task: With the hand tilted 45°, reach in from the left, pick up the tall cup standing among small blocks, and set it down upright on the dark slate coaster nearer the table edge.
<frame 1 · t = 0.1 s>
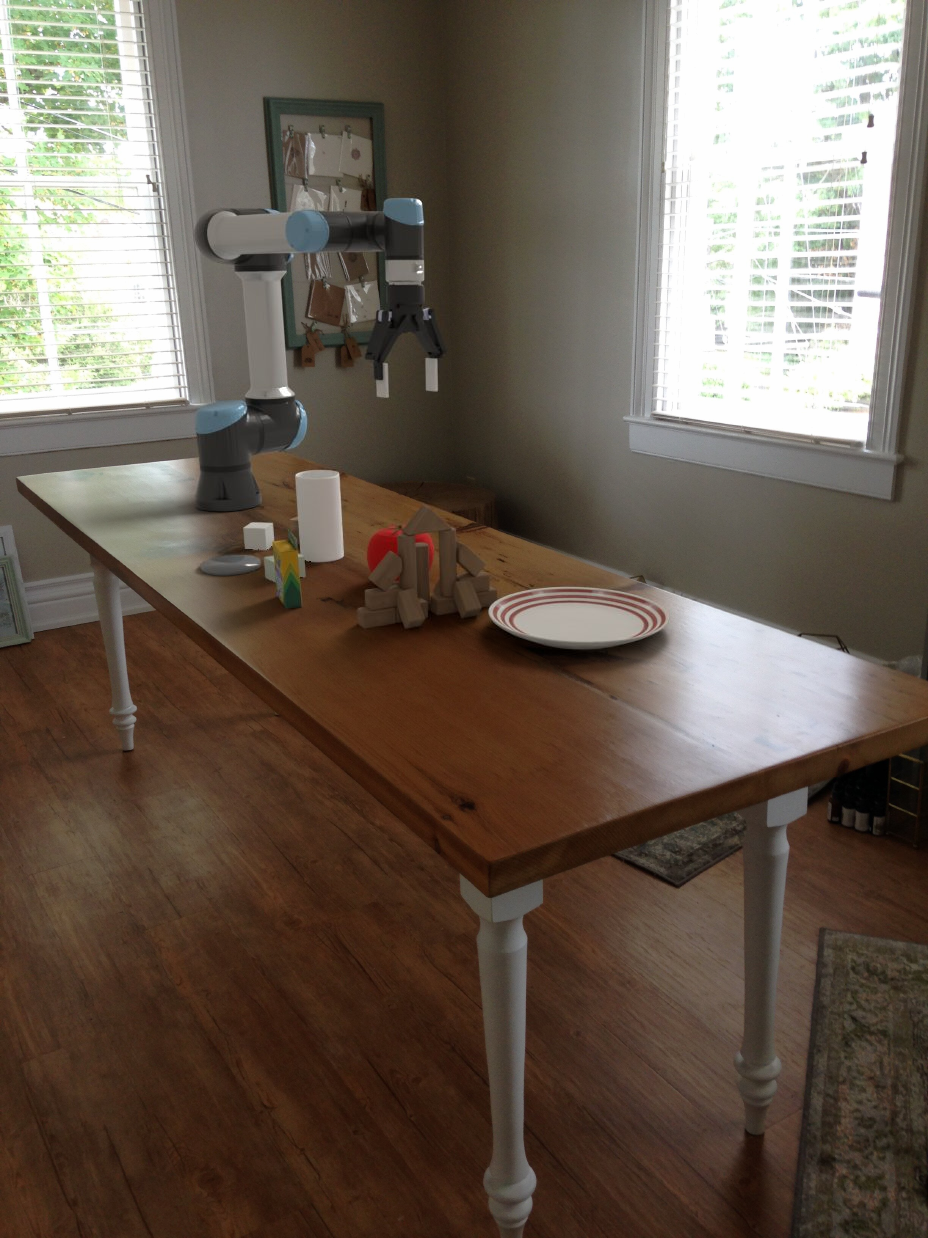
hand: (407, 393, 210), 28 cm above the table, tool pointing down, fingers open, 13 cm apart
crayon box: (289, 602, 174), on the table
tomato: (402, 583, 184), on the table
dinner plate: (577, 631, 160), on the table
coaster: (231, 566, 194), on the table
walnut block: (308, 541, 211), on the table
cup: (322, 557, 200), on the table
off-white plastic block: (259, 547, 208), on the table
sage painted block: (285, 578, 188), on the table
wooden blocks: (433, 615, 168), on the table
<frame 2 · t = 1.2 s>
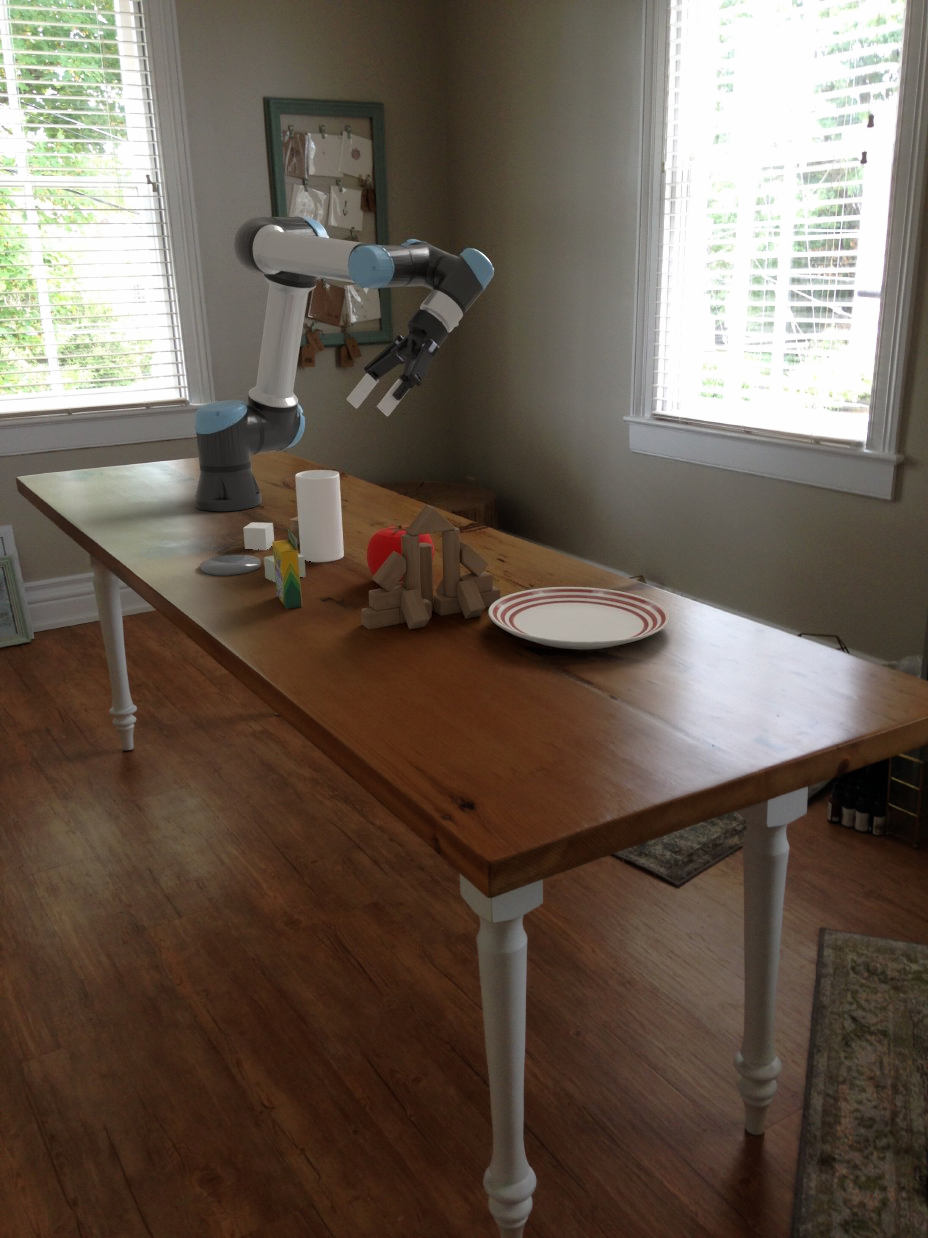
hand: (366, 407, 196), 27 cm above the table, tool tilted 45°, fingers open, 13 cm apart
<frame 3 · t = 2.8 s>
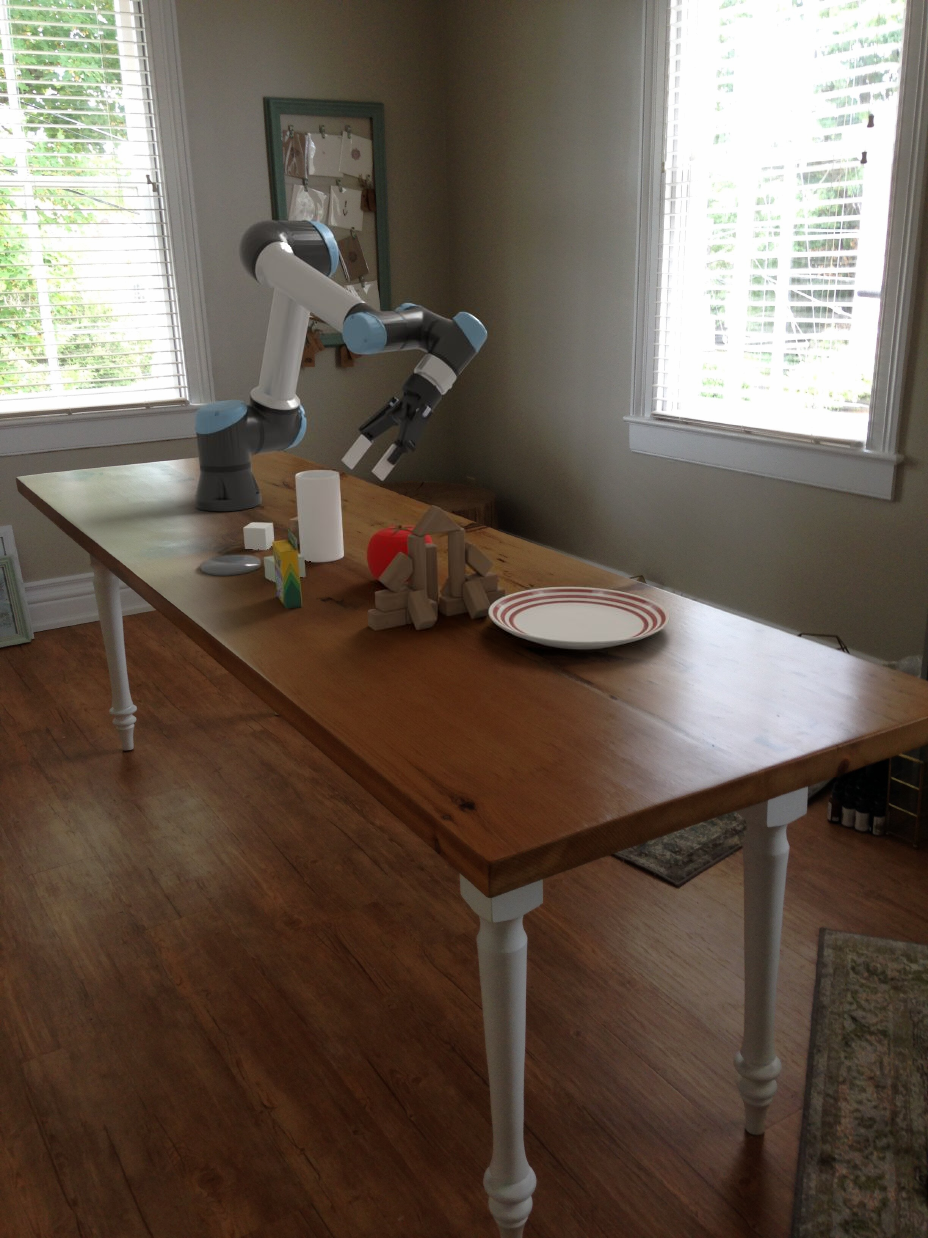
hand: (361, 470, 199), 16 cm above the table, tool tilted 45°, fingers open, 13 cm apart
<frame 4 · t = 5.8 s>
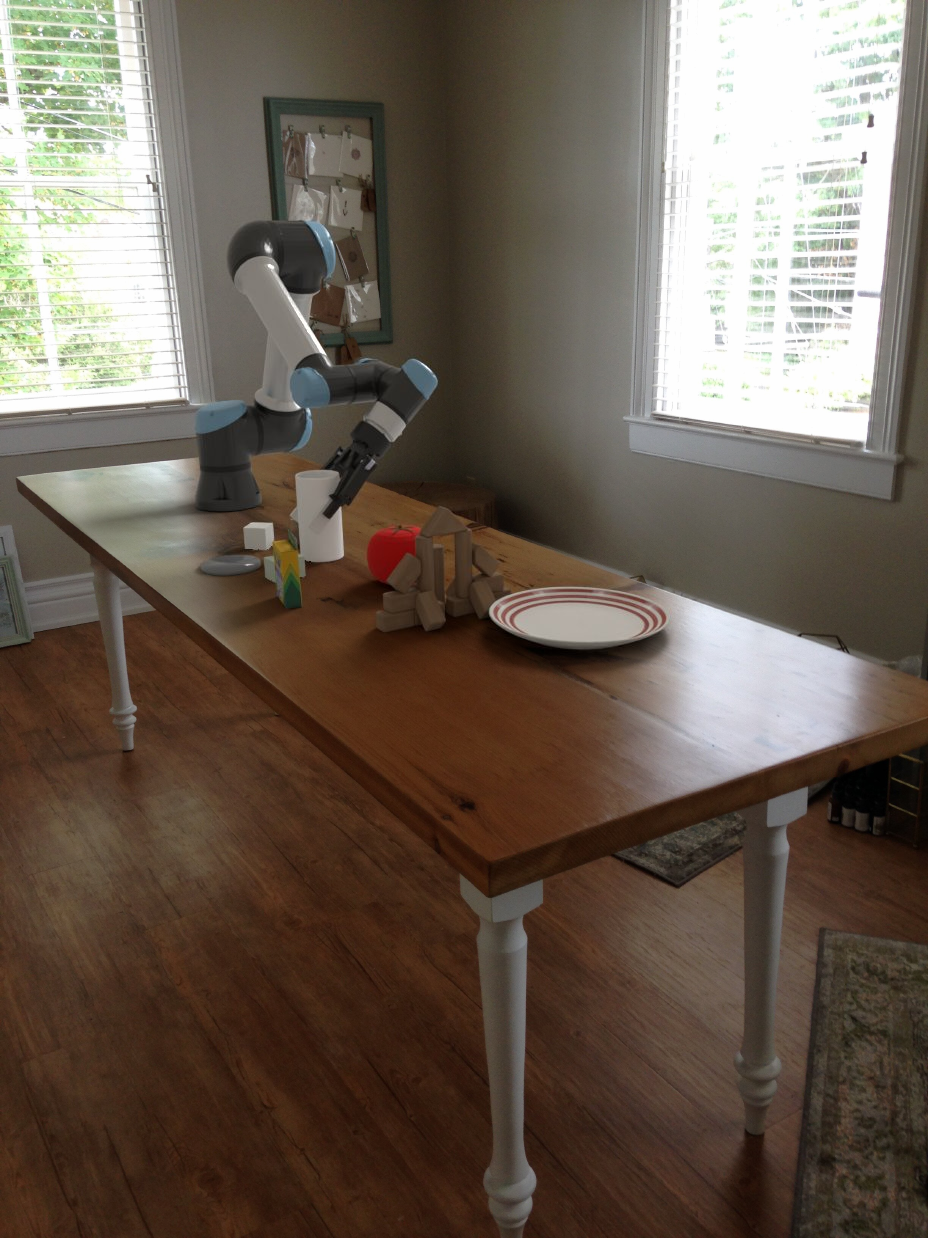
hand: (303, 524, 196), 7 cm above the table, tool tilted 45°, fingers closed on cup, 8 cm apart
cup: (322, 557, 200), on the table, touching gripper
wooden blocks: (449, 617, 167), on the table
everything else where it was.
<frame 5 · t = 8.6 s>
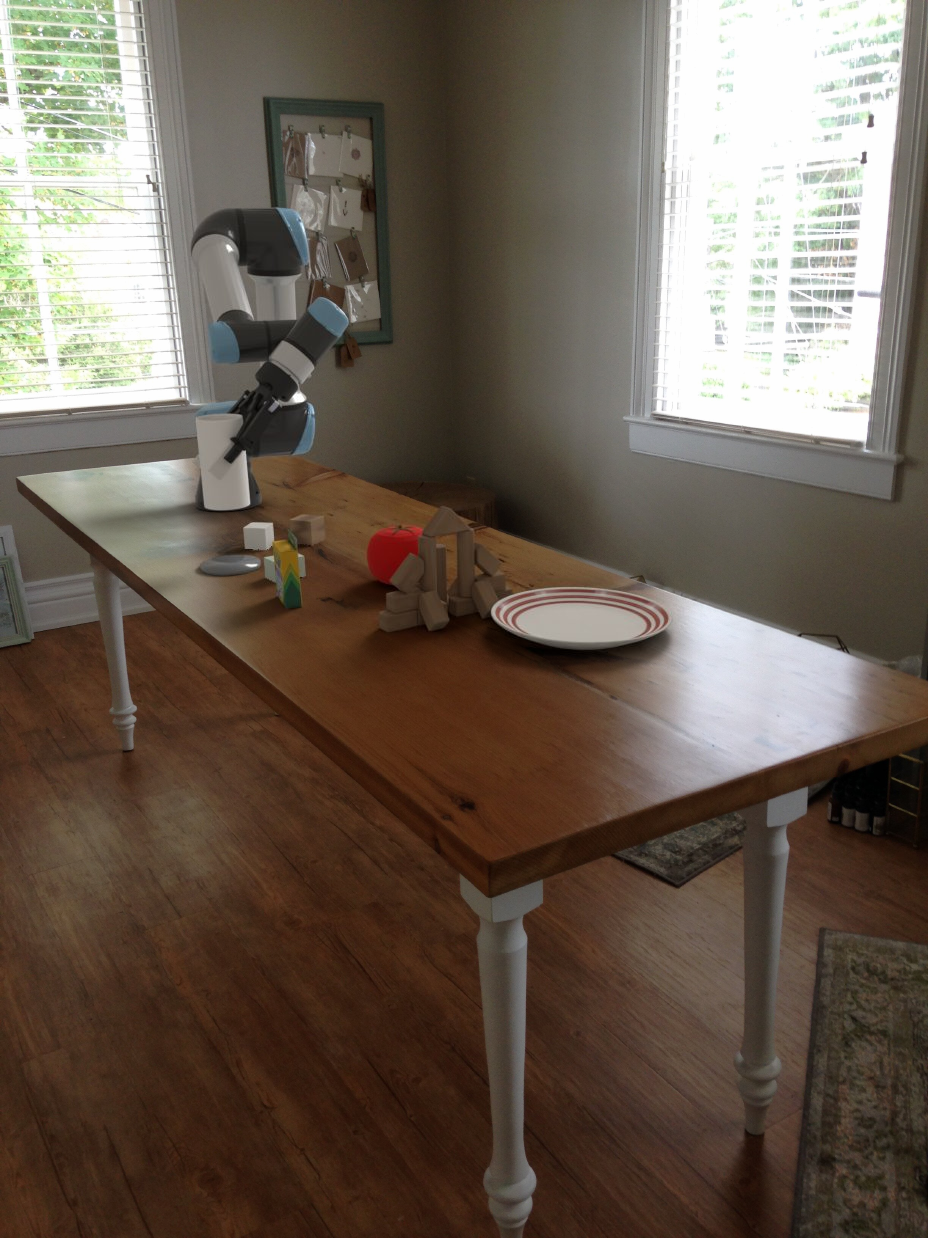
hand: (205, 470, 187), 18 cm above the table, tool tilted 45°, fingers closed on cup, 8 cm apart
cup: (227, 506, 191), point 12 cm above the table, touching gripper
when the fingers open (8 cm above the table, at t = 11.0 s): cup stays where it is, resting on coaster.
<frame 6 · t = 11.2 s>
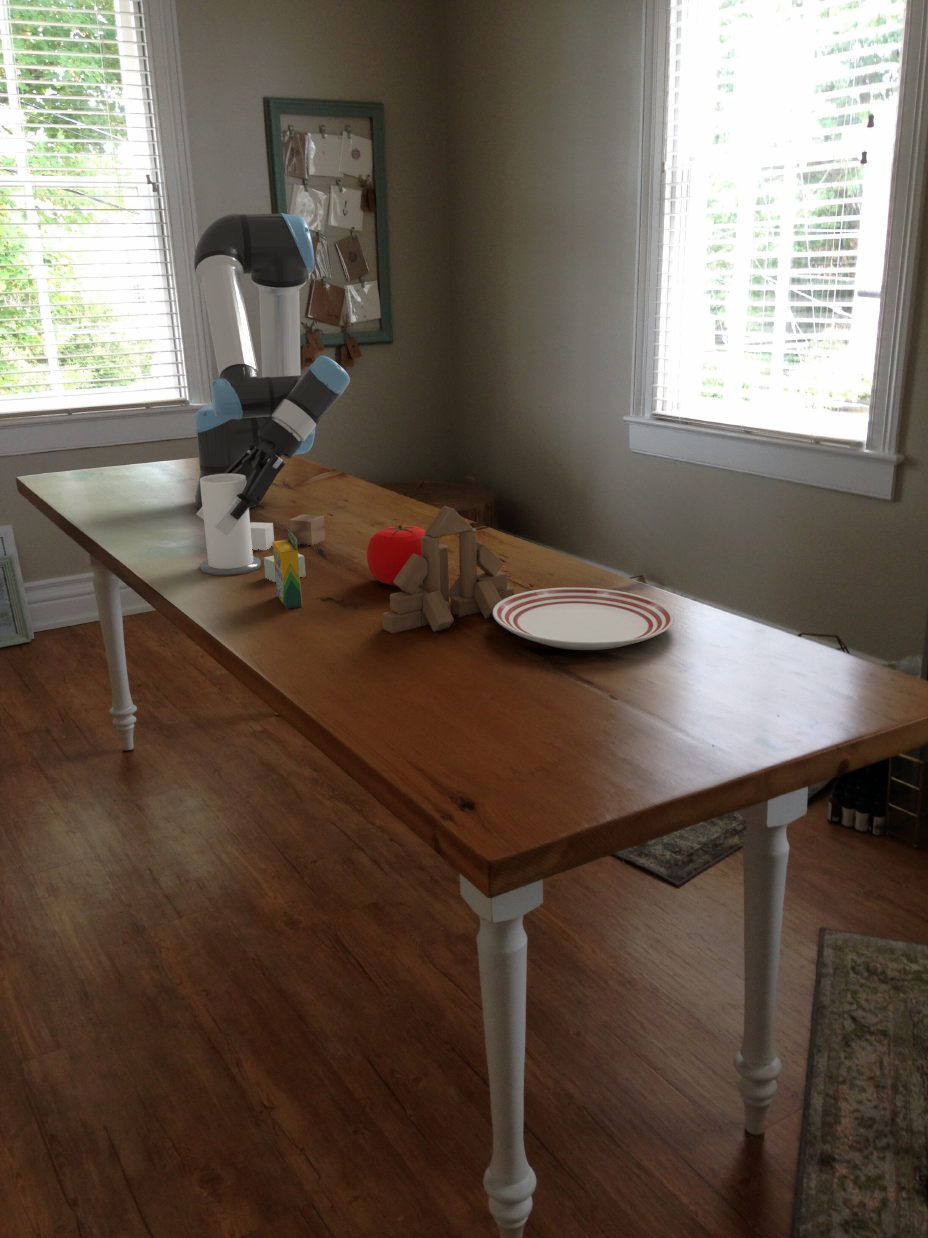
hand: (211, 524, 190), 9 cm above the table, tool tilted 45°, fingers open, 10 cm apart
cup: (231, 563, 194), point 1 cm above the table, touching coaster
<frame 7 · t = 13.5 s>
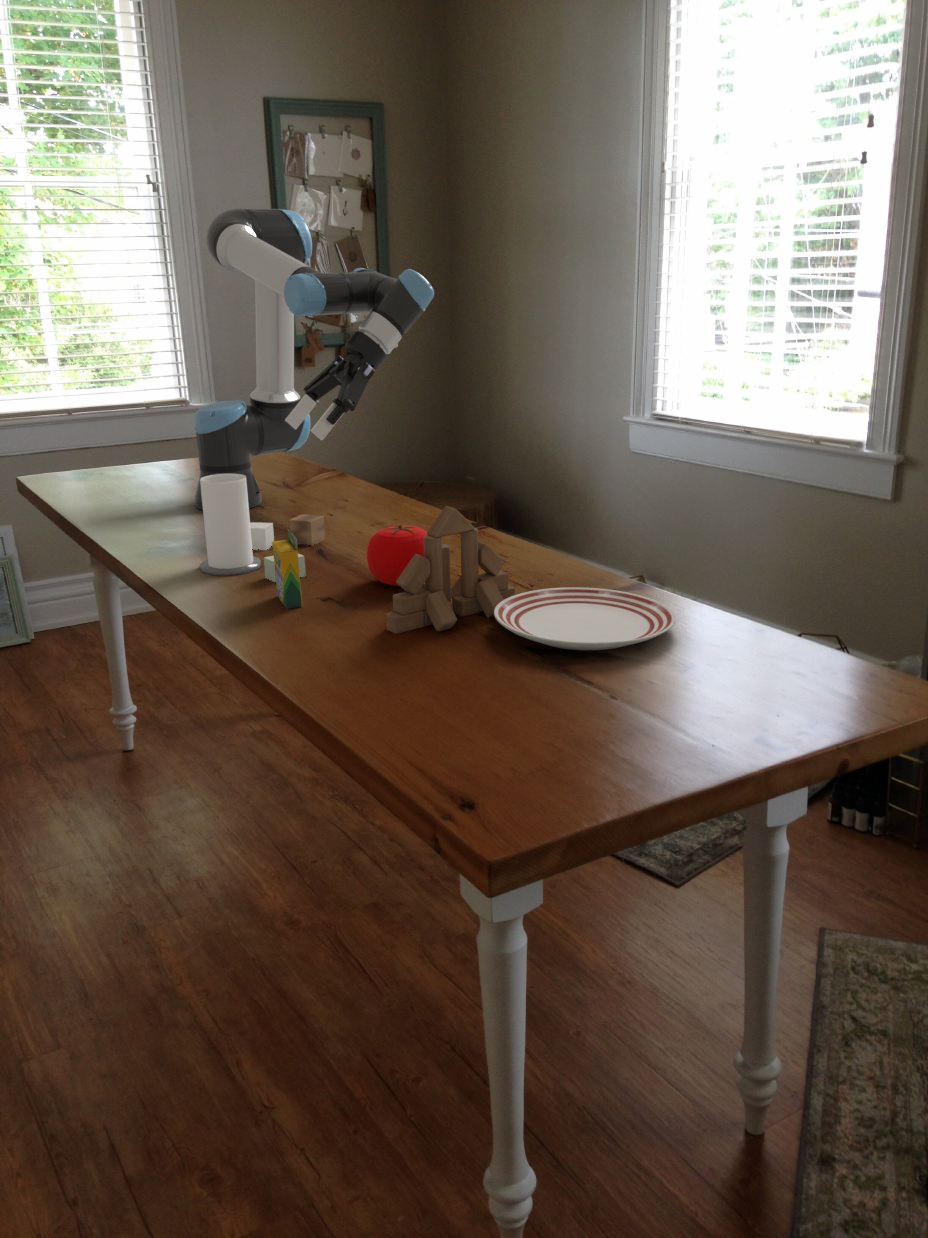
hand: (302, 430, 195), 24 cm above the table, tool tilted 45°, fingers open, 13 cm apart
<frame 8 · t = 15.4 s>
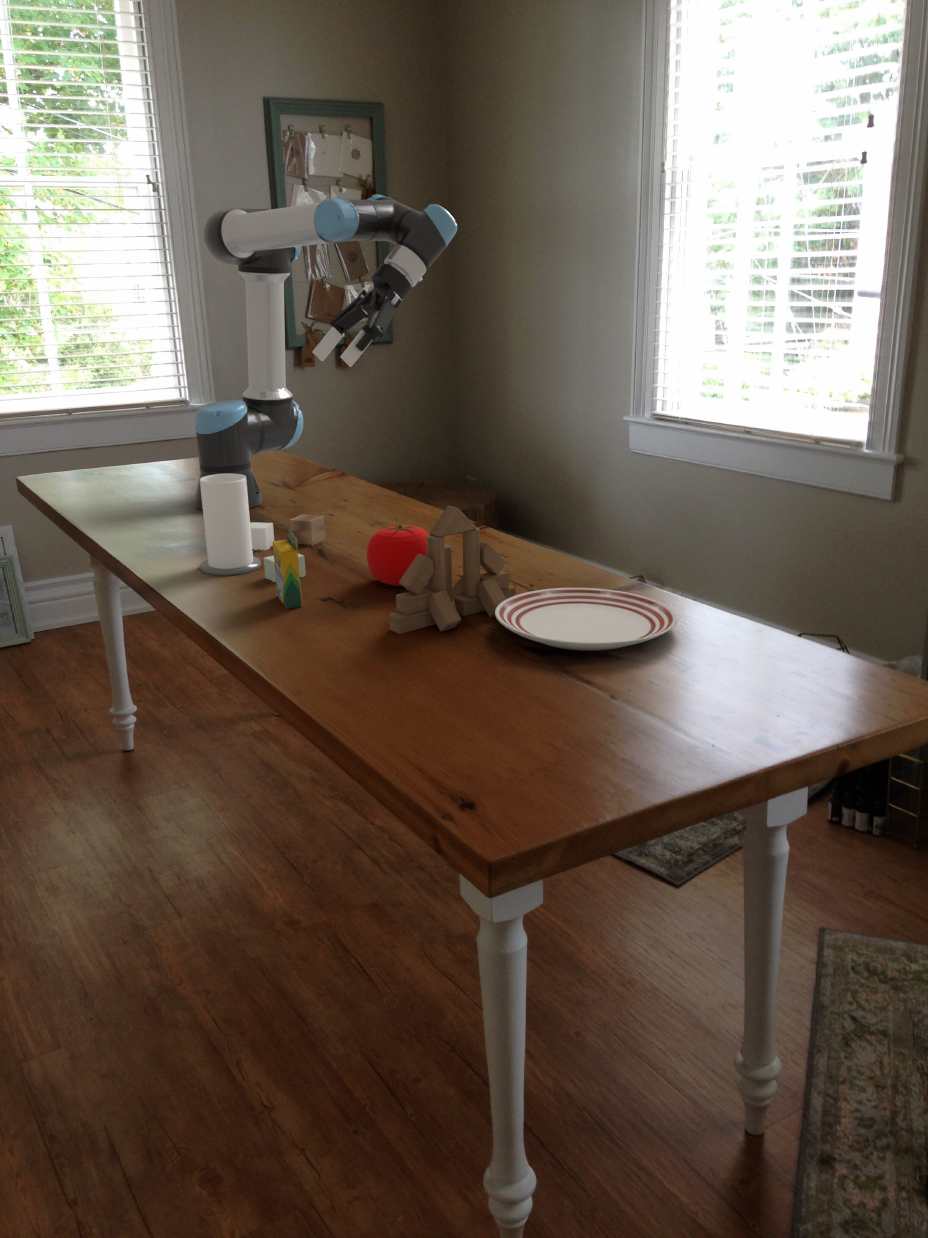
hand: (331, 359, 201), 36 cm above the table, tool tilted 45°, fingers open, 13 cm apart
at the end: cup 0.1 cm from the coaster (horizontally); cup tilted 0°; the gripper is holding nothing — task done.
